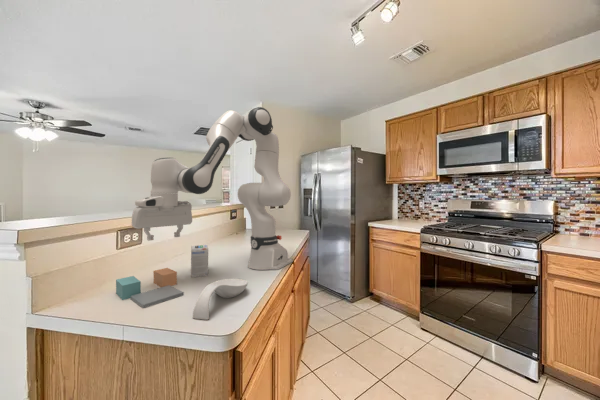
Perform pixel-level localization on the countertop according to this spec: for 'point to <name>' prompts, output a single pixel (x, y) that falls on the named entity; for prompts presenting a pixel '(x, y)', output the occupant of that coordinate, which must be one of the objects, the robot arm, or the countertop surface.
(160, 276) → the terracotta brick
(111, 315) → the countertop surface
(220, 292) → the spoon rest
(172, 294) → the grey baseplate
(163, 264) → the countertop surface
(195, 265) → the light bulb box
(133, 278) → the teal brick
